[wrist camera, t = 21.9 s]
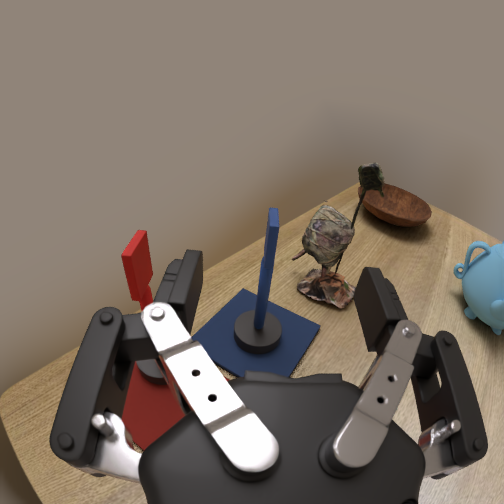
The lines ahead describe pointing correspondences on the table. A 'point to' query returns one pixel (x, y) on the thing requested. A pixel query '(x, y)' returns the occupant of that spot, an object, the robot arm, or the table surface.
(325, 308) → the table surface
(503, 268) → the teapot
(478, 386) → the table surface
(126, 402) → the red mat
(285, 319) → the blue mat
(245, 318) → the blue signpost
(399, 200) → the bowl
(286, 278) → the table surface
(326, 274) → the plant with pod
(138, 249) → the red paddle on stand
